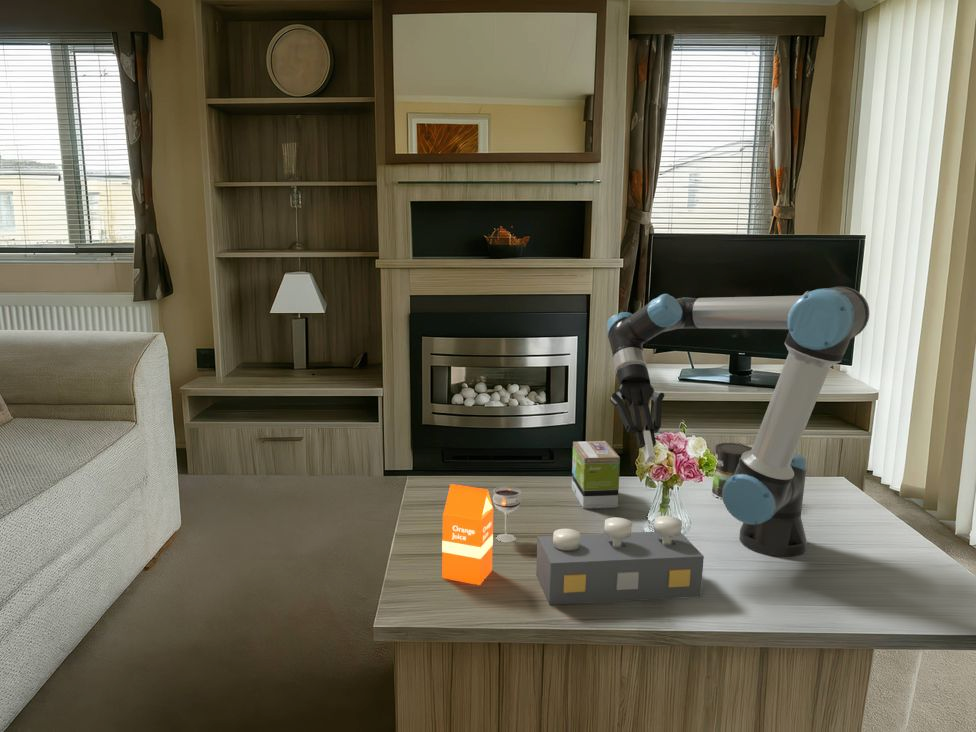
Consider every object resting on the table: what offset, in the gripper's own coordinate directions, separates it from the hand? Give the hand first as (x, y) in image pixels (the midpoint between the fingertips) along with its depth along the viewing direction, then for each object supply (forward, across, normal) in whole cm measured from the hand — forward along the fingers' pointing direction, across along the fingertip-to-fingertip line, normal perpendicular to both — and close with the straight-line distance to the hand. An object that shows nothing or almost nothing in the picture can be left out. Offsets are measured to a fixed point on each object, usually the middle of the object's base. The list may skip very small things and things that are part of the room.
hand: (650, 459), depth 169 cm
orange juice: (+20, +41, -14) cm, 48 cm away
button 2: (+20, -1, -4) cm, 21 cm away
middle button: (+20, +10, -4) cm, 23 cm away
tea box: (-10, +2, -44) cm, 45 cm away
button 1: (+22, +21, -6) cm, 31 cm away
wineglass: (+7, +30, -27) cm, 41 cm away
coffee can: (-9, -38, -44) cm, 59 cm away
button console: (+26, +10, -8) cm, 29 cm away
